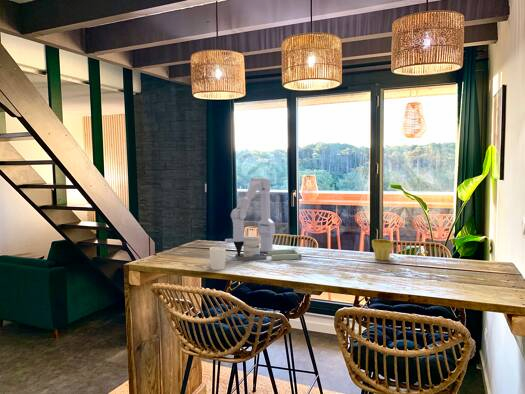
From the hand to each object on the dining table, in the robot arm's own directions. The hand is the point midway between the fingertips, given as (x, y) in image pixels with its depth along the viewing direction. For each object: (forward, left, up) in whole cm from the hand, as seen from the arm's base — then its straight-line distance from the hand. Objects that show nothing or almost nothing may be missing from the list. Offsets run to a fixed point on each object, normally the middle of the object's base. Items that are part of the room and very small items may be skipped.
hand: (238, 255), depth 218 cm
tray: (0, +25, -1) cm, 25 cm away
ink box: (0, +7, -2) cm, 7 cm away
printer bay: (0, +7, -1) cm, 7 cm away
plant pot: (+15, +75, -2) cm, 77 cm away
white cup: (+20, -12, -2) cm, 23 cm away
